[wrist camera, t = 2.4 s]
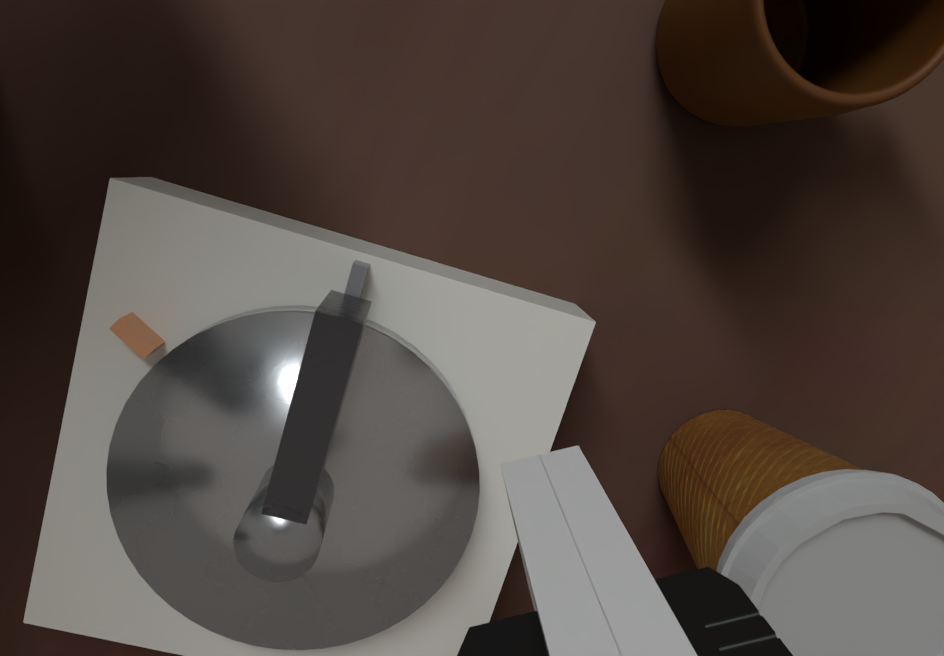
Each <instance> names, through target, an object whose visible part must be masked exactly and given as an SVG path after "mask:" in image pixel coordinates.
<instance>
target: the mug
mask: <svg viewBox="0 0 944 656" xmlns="http://www.w3.org/2000/svg"><path fill="white" fill-rule="evenodd" d="M656 53H657V61H658V65H659V69H660V72H661V75H662V78H663V80H664V82H665V84H666V86H667V88H668V90H669V91H670V93H671V94H672V96H673V97H674V98H675V100H676V101H677V102H678V103H679V104H680V105H681V106H682V107H683V108H684V109H686V110H687V111H688V112H690V113H691V114H693V115H694V116H696V117H698V118H700V119H702V120H705V121H707V122H710V123H713V124H717V125H722V126H732V127H740V126H753V125H761V124H769V123H780V122H788V121H796V120H804V119H811V118H819V117H826V116H832V115H837V114H842V113H847V112H851V111H854V110H857V109H861V108H864V107H869V106H873V105H877V104H880V103H883V102H886V101H888V100H891V99H893V98H895V97H897V96H899V95H901V94H903V93H905V92H907V91H908V90H910V89H911V88H913V87H914V86H916V85H917V84H919V83H920V82H921V81H922V80H923V79H925V78H926V77H927V76H928V75H929V74H930V73H931V72H932V71H933V70H934V69H935V68H936V67H937V66H938V65H939V64H940V63H941V62H942V61H943V59H944V0H666V1H665V2H664V5H663V8H662V11H661V13H660V17H659V21H658V25H657V33H656Z"/></svg>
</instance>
